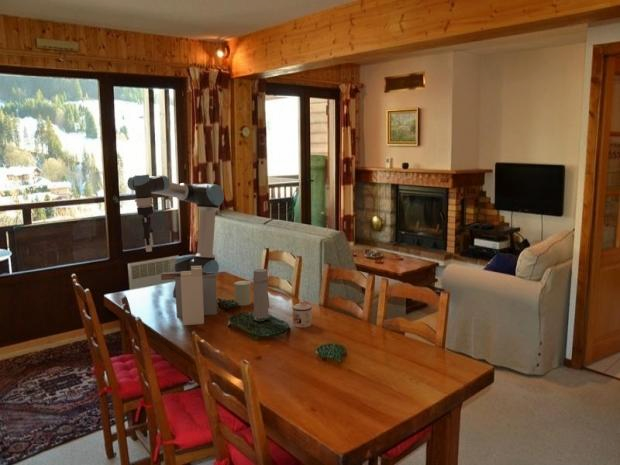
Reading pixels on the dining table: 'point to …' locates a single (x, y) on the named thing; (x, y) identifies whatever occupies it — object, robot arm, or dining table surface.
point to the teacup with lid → (302, 315)
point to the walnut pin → (174, 275)
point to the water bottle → (260, 293)
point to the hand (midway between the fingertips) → (149, 248)
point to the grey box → (208, 294)
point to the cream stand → (192, 296)
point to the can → (242, 292)
